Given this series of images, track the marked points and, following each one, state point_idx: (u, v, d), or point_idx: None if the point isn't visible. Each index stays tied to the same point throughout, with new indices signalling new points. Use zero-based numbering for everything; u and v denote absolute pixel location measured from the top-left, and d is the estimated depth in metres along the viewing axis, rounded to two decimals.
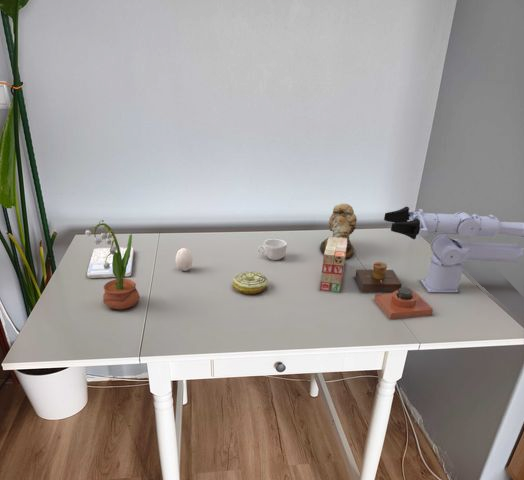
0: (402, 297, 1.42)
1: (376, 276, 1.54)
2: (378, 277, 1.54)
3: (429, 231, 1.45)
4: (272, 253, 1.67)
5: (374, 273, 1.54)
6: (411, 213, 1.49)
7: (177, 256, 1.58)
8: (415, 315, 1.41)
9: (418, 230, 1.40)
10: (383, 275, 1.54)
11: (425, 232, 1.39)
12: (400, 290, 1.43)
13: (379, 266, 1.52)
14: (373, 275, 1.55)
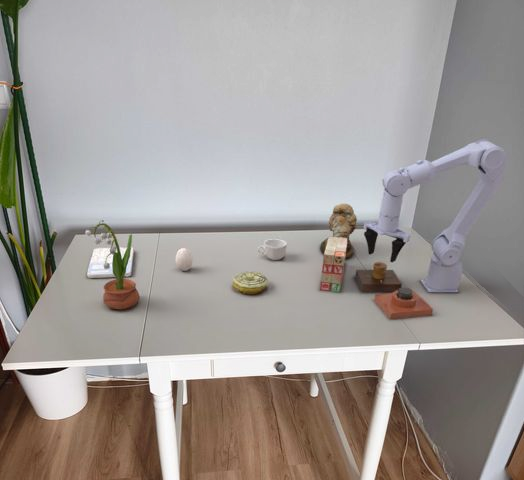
0: (402, 297, 1.42)
1: (376, 276, 1.54)
2: (378, 277, 1.54)
3: (398, 220, 1.45)
4: (271, 253, 1.67)
5: (374, 273, 1.54)
6: None
7: (177, 256, 1.58)
8: (415, 315, 1.41)
9: (403, 241, 1.45)
10: (383, 275, 1.54)
11: (408, 237, 1.43)
12: (400, 290, 1.43)
13: (379, 266, 1.52)
14: (373, 275, 1.55)
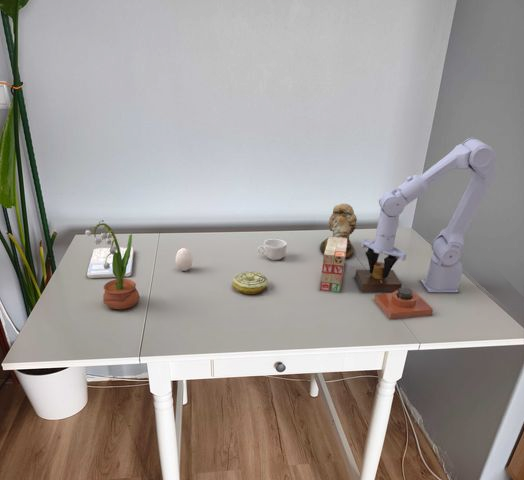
0: (402, 297, 1.42)
1: (376, 276, 1.54)
2: (378, 277, 1.54)
3: (394, 239, 1.48)
4: (271, 253, 1.67)
5: (374, 273, 1.54)
6: None
7: (177, 256, 1.58)
8: (415, 315, 1.41)
9: (395, 258, 1.49)
10: None
11: (404, 256, 1.46)
12: (400, 290, 1.43)
13: (379, 266, 1.52)
14: (373, 275, 1.55)
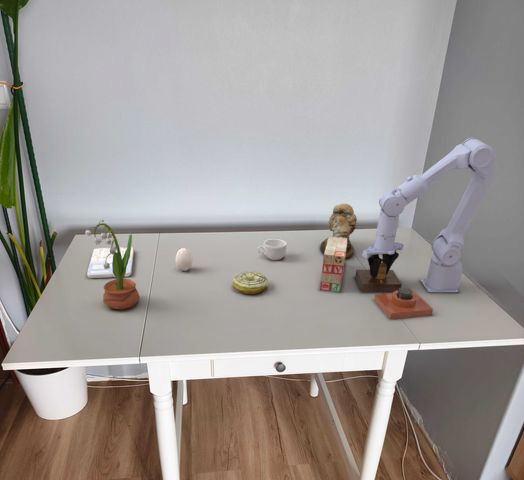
0: (402, 297, 1.42)
1: (383, 276, 1.54)
2: (384, 276, 1.54)
3: None
4: (271, 253, 1.67)
5: (381, 274, 1.53)
6: None
7: (177, 256, 1.58)
8: (415, 315, 1.41)
9: None
10: None
11: None
12: (400, 290, 1.43)
13: (384, 266, 1.53)
14: (380, 277, 1.54)
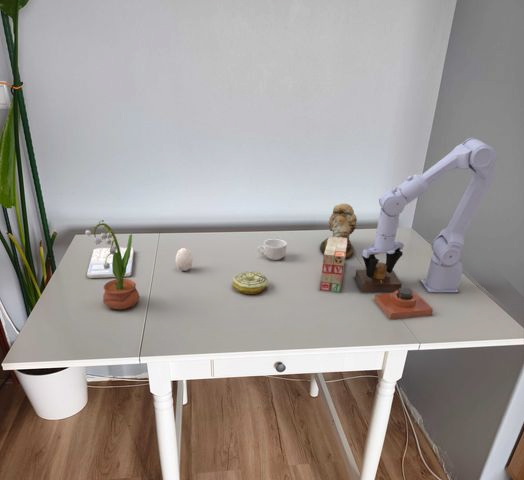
0: (402, 297, 1.42)
1: (383, 276, 1.54)
2: (384, 276, 1.54)
3: None
4: (272, 253, 1.67)
5: (381, 274, 1.53)
6: None
7: (177, 256, 1.58)
8: (415, 315, 1.41)
9: None
10: None
11: None
12: (400, 290, 1.43)
13: (384, 266, 1.53)
14: (380, 277, 1.54)
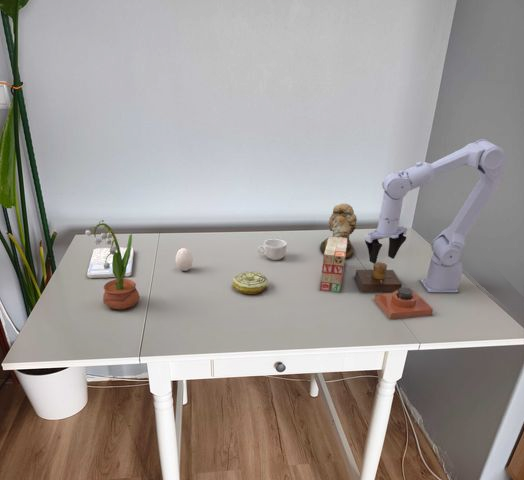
0: (402, 297, 1.42)
1: (383, 276, 1.54)
2: (384, 276, 1.54)
3: None
4: (272, 253, 1.67)
5: (381, 274, 1.53)
6: None
7: (177, 256, 1.58)
8: (415, 315, 1.41)
9: None
10: None
11: None
12: (400, 290, 1.43)
13: (384, 266, 1.53)
14: (380, 277, 1.54)
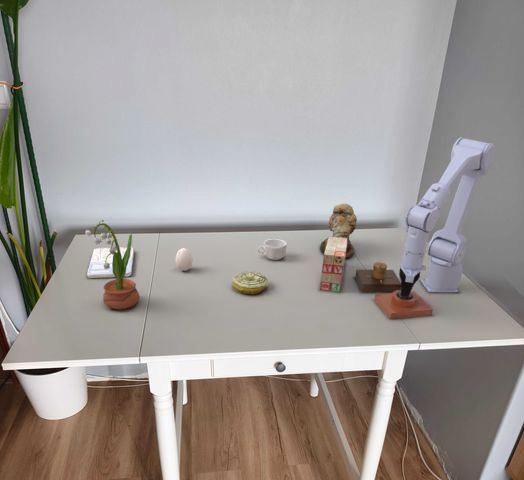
0: None
1: (383, 276, 1.54)
2: (384, 276, 1.54)
3: None
4: (272, 253, 1.67)
5: (381, 274, 1.53)
6: None
7: (177, 256, 1.58)
8: (415, 315, 1.41)
9: None
10: None
11: None
12: (399, 293, 1.43)
13: (384, 266, 1.53)
14: (380, 277, 1.54)
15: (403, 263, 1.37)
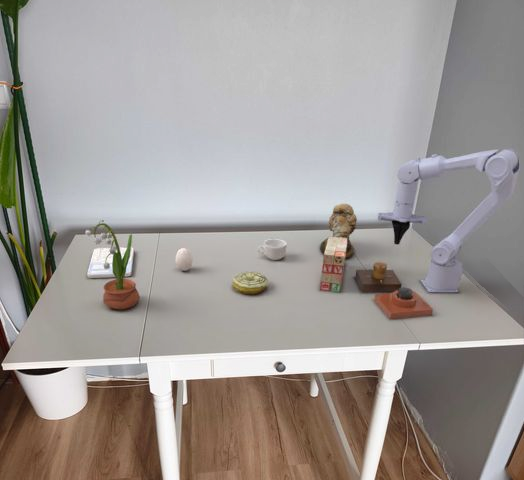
0: (402, 297, 1.42)
1: (383, 276, 1.54)
2: (384, 276, 1.54)
3: None
4: (272, 253, 1.67)
5: (381, 274, 1.53)
6: None
7: (177, 256, 1.58)
8: (415, 315, 1.41)
9: (409, 223, 1.55)
10: None
11: None
12: (400, 290, 1.43)
13: (384, 266, 1.53)
14: (380, 277, 1.54)
15: None
